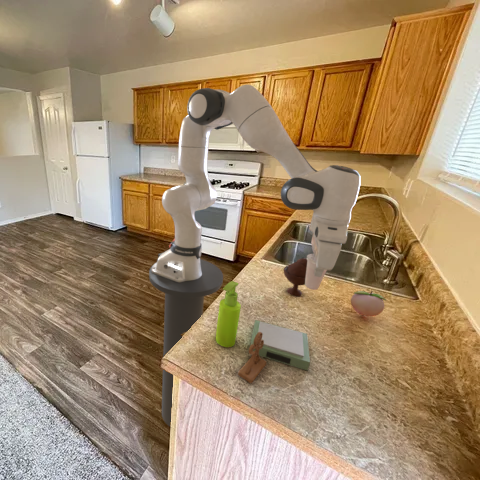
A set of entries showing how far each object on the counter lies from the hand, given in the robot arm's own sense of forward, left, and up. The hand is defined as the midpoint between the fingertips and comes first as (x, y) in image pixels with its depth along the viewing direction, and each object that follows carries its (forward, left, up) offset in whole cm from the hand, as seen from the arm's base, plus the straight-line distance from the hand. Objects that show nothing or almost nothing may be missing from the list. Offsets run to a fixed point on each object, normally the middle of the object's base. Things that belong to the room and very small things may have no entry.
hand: (316, 270), depth 79 cm
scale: (-7, -13, -21) cm, 26 cm away
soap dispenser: (-21, -17, -21) cm, 35 cm away
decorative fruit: (+20, +16, -21) cm, 34 cm away
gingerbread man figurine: (-13, -25, -21) cm, 35 cm away
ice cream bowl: (-2, +22, -21) cm, 31 cm away
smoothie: (0, 0, -6) cm, 6 cm away
